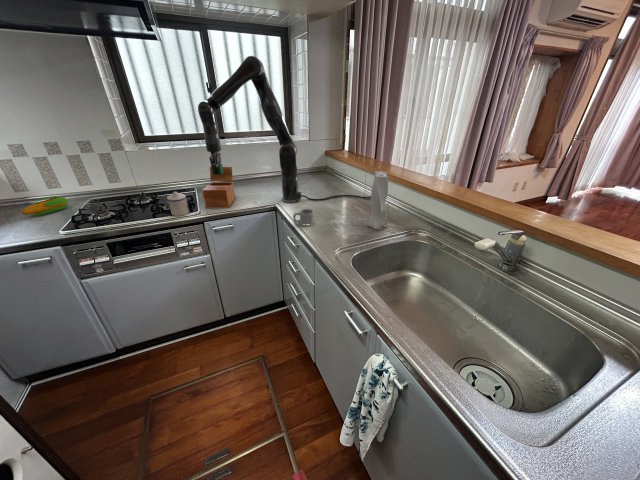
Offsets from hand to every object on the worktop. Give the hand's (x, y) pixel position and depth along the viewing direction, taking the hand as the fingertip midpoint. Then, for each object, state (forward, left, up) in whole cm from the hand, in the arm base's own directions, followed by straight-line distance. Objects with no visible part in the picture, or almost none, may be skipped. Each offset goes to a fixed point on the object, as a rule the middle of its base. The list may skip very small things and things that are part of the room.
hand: (218, 172), depth 153 cm
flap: (+1, -6, -2) cm, 6 cm away
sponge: (0, 0, 0) cm, 0 cm away
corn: (+83, +30, -17) cm, 90 cm away
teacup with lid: (+15, +21, -17) cm, 31 cm away
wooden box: (-1, +4, -16) cm, 17 cm away
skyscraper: (-90, +26, -17) cm, 95 cm away
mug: (-54, +27, -17) cm, 63 cm away
